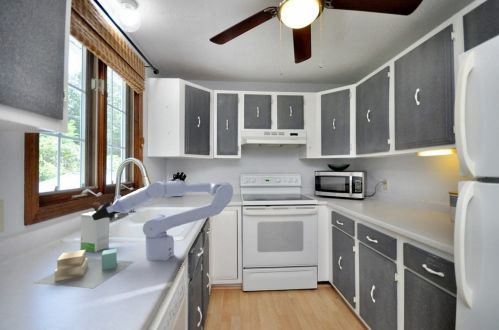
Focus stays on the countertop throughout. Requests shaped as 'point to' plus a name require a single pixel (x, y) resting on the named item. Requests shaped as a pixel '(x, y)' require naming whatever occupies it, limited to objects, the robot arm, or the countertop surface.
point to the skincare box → (94, 233)
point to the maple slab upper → (71, 259)
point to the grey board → (88, 275)
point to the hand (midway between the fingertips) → (100, 215)
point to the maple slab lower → (71, 272)
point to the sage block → (109, 259)
